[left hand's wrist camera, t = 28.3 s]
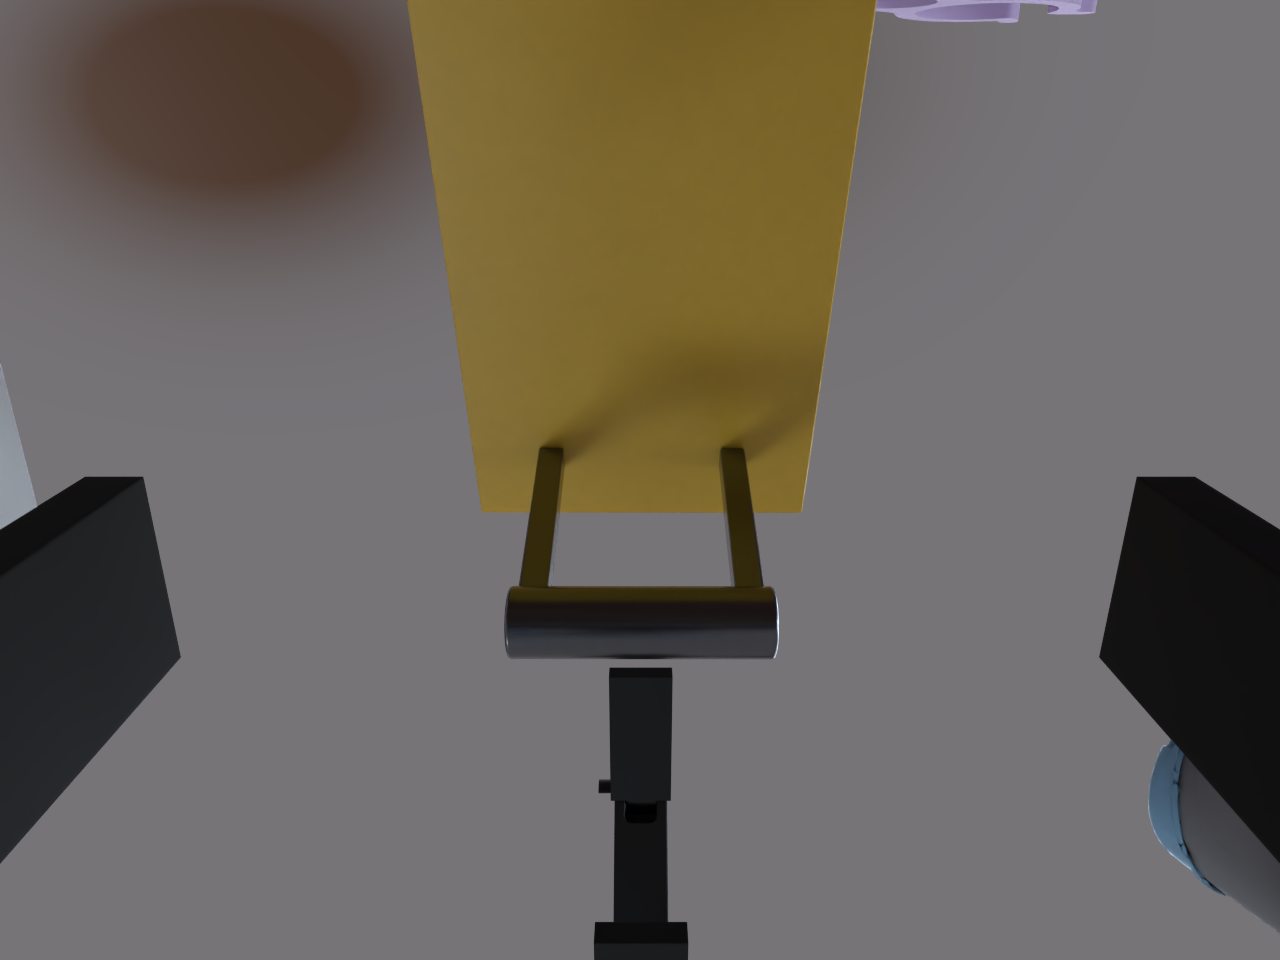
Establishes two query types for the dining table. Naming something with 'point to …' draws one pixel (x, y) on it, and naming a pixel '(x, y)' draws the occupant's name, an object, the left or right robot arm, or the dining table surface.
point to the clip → (977, 9)
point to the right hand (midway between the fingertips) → (640, 776)
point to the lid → (641, 279)
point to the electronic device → (12, 465)
